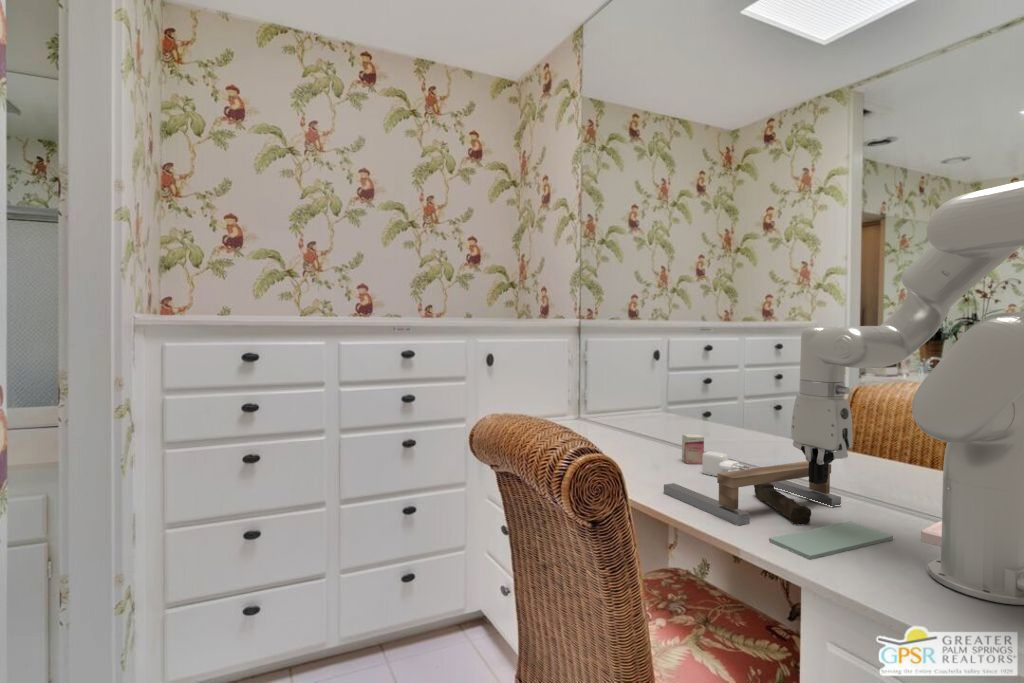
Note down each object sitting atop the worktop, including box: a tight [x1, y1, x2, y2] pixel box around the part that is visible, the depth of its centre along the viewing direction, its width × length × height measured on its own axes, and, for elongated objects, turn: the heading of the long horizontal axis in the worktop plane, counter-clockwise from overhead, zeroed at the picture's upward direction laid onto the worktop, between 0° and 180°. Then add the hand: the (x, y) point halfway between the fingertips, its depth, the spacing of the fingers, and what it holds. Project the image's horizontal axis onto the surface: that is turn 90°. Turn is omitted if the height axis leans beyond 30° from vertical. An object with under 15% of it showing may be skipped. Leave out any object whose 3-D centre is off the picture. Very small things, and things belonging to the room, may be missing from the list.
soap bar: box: [920, 520, 942, 547], centre depth 95 cm, size 5×9×2 cm, turn 123°
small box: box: [681, 433, 705, 465], centre depth 151 cm, size 5×4×8 cm
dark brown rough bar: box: [753, 483, 812, 525], centre depth 112 cm, size 19×4×5 cm, turn 179°
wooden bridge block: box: [716, 460, 832, 510], centre depth 111 cm, size 4×29×6 cm, turn 113°
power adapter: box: [701, 450, 750, 477], centre depth 136 cm, size 11×5×6 cm, turn 43°
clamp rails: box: [663, 480, 842, 526], centre depth 118 cm, size 22×30×2 cm
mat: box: [768, 521, 894, 560], centre depth 95 cm, size 8×22×1 cm, turn 113°
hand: (817, 482), depth 103 cm, fingers closed
